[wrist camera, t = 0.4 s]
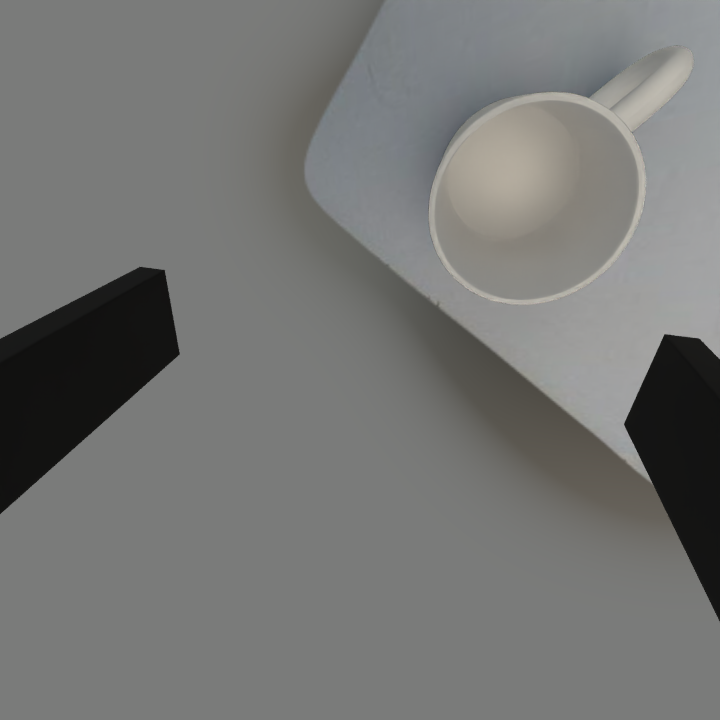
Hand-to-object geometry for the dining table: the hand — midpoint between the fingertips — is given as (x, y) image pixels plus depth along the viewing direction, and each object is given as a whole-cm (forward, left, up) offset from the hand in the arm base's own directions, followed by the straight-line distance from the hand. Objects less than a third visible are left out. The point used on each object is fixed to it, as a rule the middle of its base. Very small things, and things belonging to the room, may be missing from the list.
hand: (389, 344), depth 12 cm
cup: (-3, +6, -19) cm, 20 cm away
